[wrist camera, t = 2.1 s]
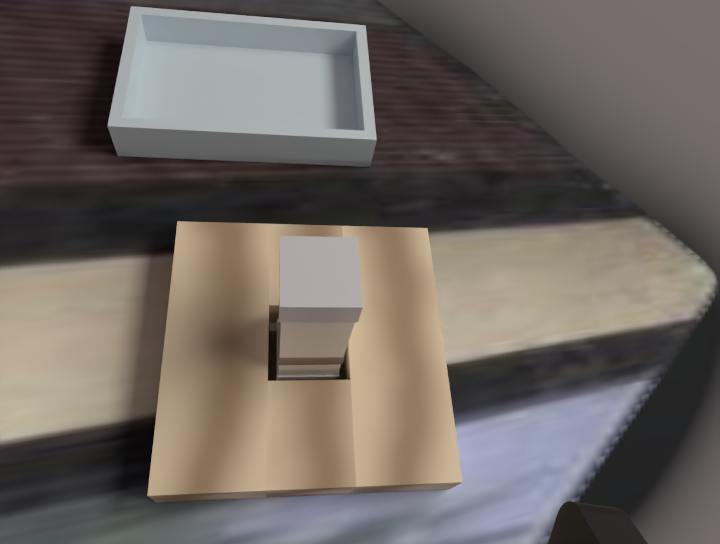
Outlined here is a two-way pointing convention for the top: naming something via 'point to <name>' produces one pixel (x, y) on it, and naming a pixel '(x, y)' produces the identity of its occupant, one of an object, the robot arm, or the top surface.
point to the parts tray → (243, 89)
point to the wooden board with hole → (299, 397)
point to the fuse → (316, 305)
